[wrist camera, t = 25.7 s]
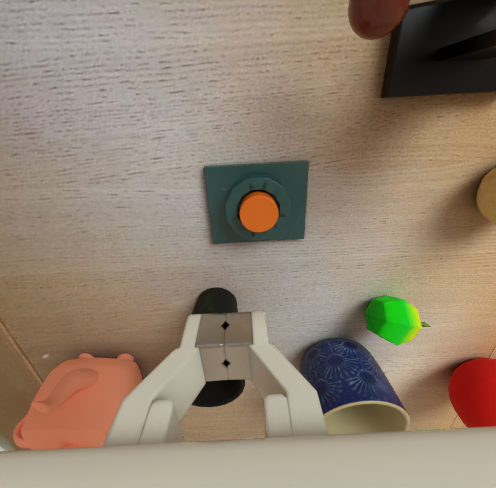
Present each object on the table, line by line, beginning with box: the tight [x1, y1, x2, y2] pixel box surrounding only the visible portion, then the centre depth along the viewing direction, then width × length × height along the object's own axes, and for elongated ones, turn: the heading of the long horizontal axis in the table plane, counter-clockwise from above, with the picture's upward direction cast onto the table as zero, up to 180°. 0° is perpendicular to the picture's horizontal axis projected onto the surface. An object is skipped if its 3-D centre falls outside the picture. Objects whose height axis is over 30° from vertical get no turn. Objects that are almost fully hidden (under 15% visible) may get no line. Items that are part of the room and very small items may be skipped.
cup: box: [178, 288, 245, 407], centre depth 30 cm, size 8×8×12 cm
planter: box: [300, 338, 410, 435], centre depth 36 cm, size 12×12×11 cm
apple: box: [365, 296, 431, 345], centre depth 34 cm, size 7×6×9 cm
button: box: [240, 192, 279, 232], centre depth 26 cm, size 4×4×2 cm
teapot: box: [13, 353, 143, 450], centre depth 36 cm, size 15×17×13 cm
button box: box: [204, 160, 309, 243], centre depth 28 cm, size 11×9×2 cm
